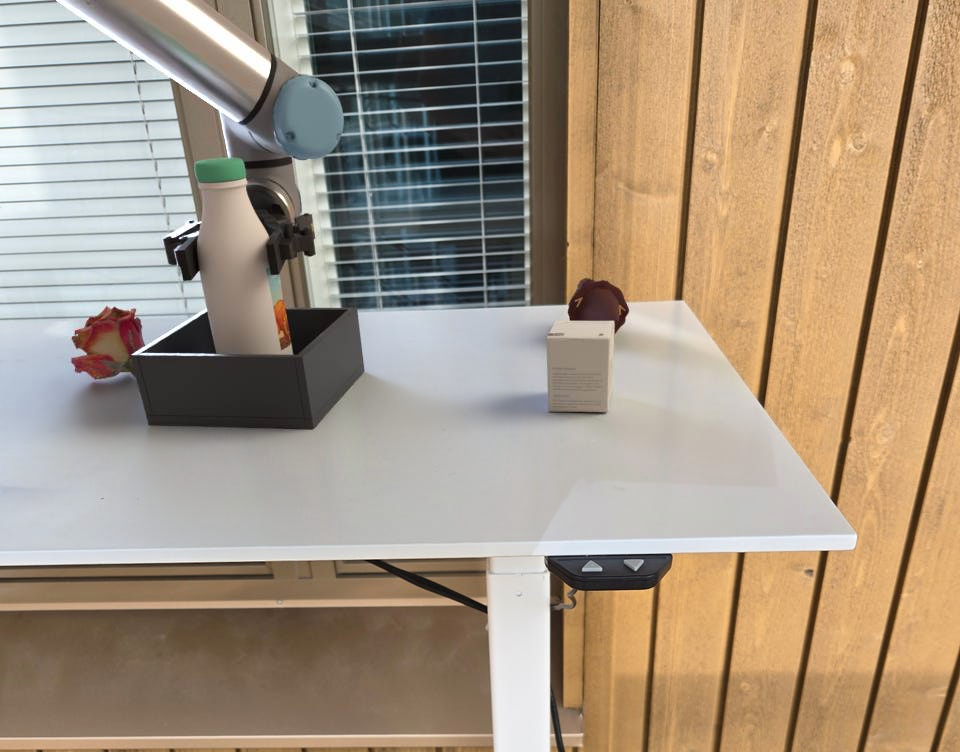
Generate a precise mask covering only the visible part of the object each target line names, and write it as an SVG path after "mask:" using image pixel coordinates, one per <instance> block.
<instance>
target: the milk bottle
mask: <svg viewBox="0 0 960 752" xmlns="http://www.w3.org/2000/svg"><path fill="white" fill-rule="evenodd" d="M193 169H194V170H193V171H194V174H195V178H196V181H197V185H198V186H197V188H198V189H200V191H201V197H202V211H201V212H202V213H201V220H200V222H201V225H200V230H199V235H198V242H197V258H198V266H199V272H198V273H199V276H200V282H201V287H202V293H203V297H204V301H205V305H206V306H205V307H206V308H207V312H208V317H209V321H210V326H211V331H212V335H213V340H214V345H215V349H216V354H277V355H293V351H292V345H291V339H290V333H289V327H288V321H287V315H286V309H285V308H286V303H285V297H284V293H283V286H282V281H281V275H280V274H281V273H280V274H279V275H271V272H270V267H269V261H268V255H267V249H266V243H267V242H268V240H269V235H268V233H267V232H266V230H265V228H264V226H263V225H262V223H261V222H260V220H259V218H258V217H257V215H256V213H255V211H254V209H253V207H252V205H251V203H250V200H249V198H248V195H247V191H246V184H247V183H248V182H247V181H246V170H245V165H244V162H243V160H242V159H240V158H228V157H215V158H207V159H206V158H205V159H201V160H198V161H195V162H194V164H193Z"/></svg>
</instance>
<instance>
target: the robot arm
mask: <svg viewBox="0 0 960 752" xmlns="http://www.w3.org/2000/svg"><path fill="white" fill-rule="evenodd" d="M56 1H57V2H58V3H60V4H61V5H63V7H65V8H67V9H68V10H70V11H71V12H73V13H74V14H76V15H77V16H79V17H81V18H82V19H83V20H85V21H86V22H88V23H89V24H91V25H92V26H94V27H95V28H97V29H98V30H100V31H101V32H103V33H104V34H106V35H107V36H109V37H110V38H112V39H113V40H114V41H116V42H117V43H119V44H121V45H122V46H123V47H125V48H126V49H128V50H129V51H131V52H133V53H134V54H136V55H137V56H138V57H140V58H141V59H143V60H144V61H145V62H147V63H148V64H150V65H152V66H153V67H154V68H156V69H157V70H158V71H161V72H163V73H164V74H165V75H166V76H168V77H169V78H171V79H173V80H174V81H175V82H177V83H179V84H180V85H181V86H183V87H184V88H186V89H187V90H189V91H190V92H191V93H192V94H195V95H196V96H198V97H199V98H201V99H202V100H204V101H205V102H207V103H208V104H210V105H211V106H213V107H214V108H215V109H217V110H218V112H219V118H220V122H221V128H222V133H223V137H224V143H225V147H226V153H227V158H240V159H242V160H243V162H244V165H245V170H246V181H247V182H248V183H247V184H246V191H247V195H248V198H249V200H250V203H251V205H252V207H253V209H254V211H255V213H256V215H257V217H258V218H259V220H260V222H261V223H262V225H263V226H264V228H265V230H266V232H267V233H268V235H269V240H268V242H267V243H266V249H267V255H268V261H269V267H270V272H271V275H279V274H281V271H282V269H283V267H284V265H285V263H286V261H288V260H295V258H298V256H299V255H298V253H303V256H304V257H305V256H306V257H314V256H316V254H317V253H316V245H315V240H316V233H315V227H314V219H313V214H312V213H309V212H305V213H303V214H302V212H303V205H302V196H301V191H300V189H299V188H298V186H297V183H296V176H295V169H294V163H293V162H294V161H293V159H295V160H297V161H307V160H317V159H321V158H324V157H326V156H327V155H329V154H331V153H332V152H333V150H334V149H335V148H336V147H337V146H338V144H339V142H340V141H341V136H342V134H343V131H344V124H345V122H344V121H345V120H344V119H345V118H344V112H343V106H342V104H341V101H340V99H339V97H338V96H337V94H336V92H335V91H334V90H333V88H332V87H331V86H330V85H329V84H327V83H326V82H325V81H323V80H321V79H320V78H317V77H315V76H313V75H309V74H304V73H303V74H302V73H299V72H297V71H296V70H294V68H292V67H291V66H290V65H288V64H287V63H286V62H285V61H283V60H282V59H280V58H279V57H277V56H276V55H275V54H273V53H271V52H270V50H268V49H267V48H265V47H264V46H263V45H261V43H259V42H258V41H256V39H254V38H253V37H251V36H250V35H249V34H247V33H246V32H244V31H243V30H242V29H240V27H238V26H237V25H235V24H234V23H233V22H232V21H230V20H229V19H228V18H226V17H225V16H224V15H223V14H221V13H220V12H219V11H217V10H216V9H215V8H213V7H212V6H211V5H210V4H208V3H206V2H205V1H204V0H56ZM200 225H201V221H199V222H198V221H197V220H195V219H190V220H188V221H186V222H185V225H183V226H182V227H180V228H178V229H176V230H173V232H171V233H169V234H166V235H165V236H163V237H162V242H163V243H162V244H163V247H164V251H165V254H166V259H167V264H168V265H170V266H177V267H179V268H180V273H181V277H182V282H192V280H193V279H194V278H195V277H196V276H197V274H198V273H200V272H199V266H198V258H197V242H198V235H199V230H200Z"/></svg>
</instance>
